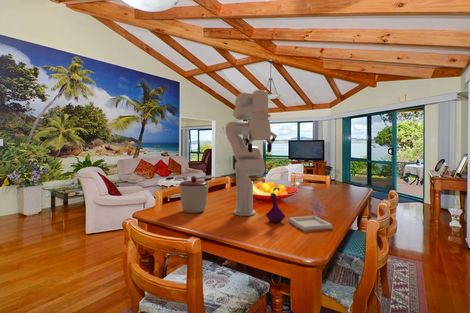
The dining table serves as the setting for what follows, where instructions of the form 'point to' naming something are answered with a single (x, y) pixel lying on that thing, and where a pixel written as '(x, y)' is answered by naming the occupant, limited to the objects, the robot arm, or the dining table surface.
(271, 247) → the dining table surface
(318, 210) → the lily
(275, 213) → the perfume bottle
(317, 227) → the tray
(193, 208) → the canister
